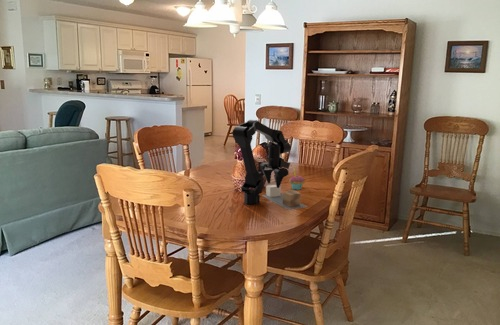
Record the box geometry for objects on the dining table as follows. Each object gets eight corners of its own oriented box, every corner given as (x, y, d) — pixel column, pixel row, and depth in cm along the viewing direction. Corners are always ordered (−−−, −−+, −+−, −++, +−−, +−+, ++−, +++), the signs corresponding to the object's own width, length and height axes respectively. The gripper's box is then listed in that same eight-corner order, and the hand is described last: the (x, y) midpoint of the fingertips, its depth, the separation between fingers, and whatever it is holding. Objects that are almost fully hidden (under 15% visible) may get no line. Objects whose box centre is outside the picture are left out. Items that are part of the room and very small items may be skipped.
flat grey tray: (287, 211, 192) (287, 199, 191) (261, 196, 214) (261, 185, 212) (307, 208, 197) (308, 196, 196) (280, 194, 218) (280, 183, 217)
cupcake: (292, 191, 226) (292, 169, 223) (286, 187, 234) (287, 165, 231) (306, 190, 228) (307, 168, 225) (301, 186, 236) (301, 165, 233)
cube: (289, 207, 195) (289, 194, 194) (282, 203, 200) (283, 191, 199) (300, 205, 198) (300, 193, 196) (293, 202, 203) (293, 190, 202)
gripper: (298, 157, 205) (297, 188, 208) (278, 151, 221) (277, 179, 224) (278, 159, 200) (277, 190, 203) (259, 152, 216) (259, 181, 219)
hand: (273, 185), depth 213 cm, fingers open, 9 cm apart
